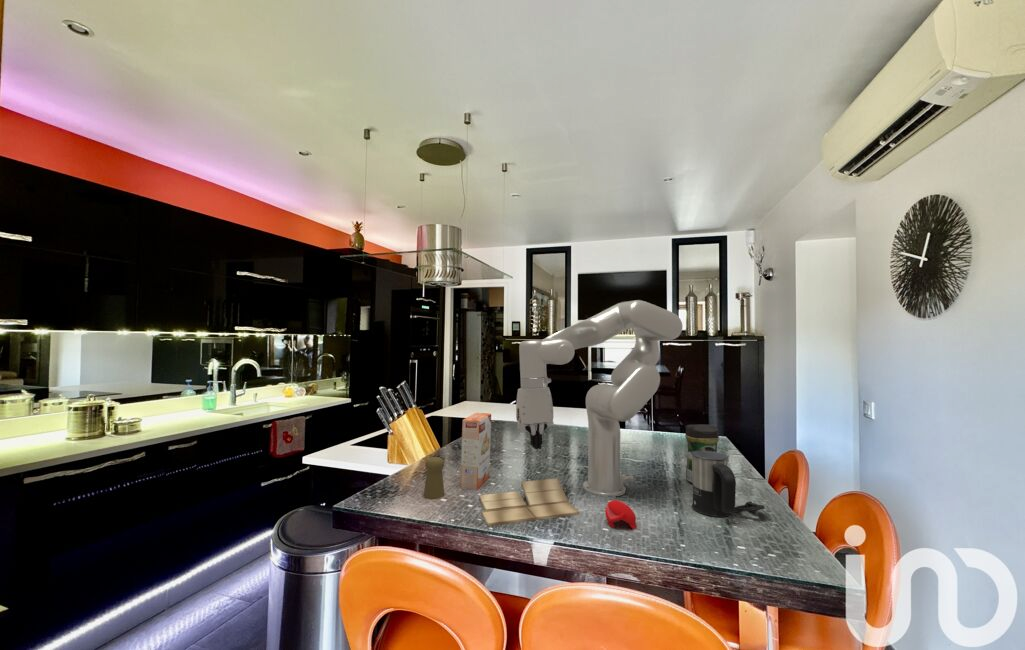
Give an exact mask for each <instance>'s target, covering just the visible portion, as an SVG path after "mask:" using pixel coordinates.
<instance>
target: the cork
mask: <svg viewBox="0 0 1025 650" xmlns="http://www.w3.org/2000/svg"><path fill="white" fill-rule="evenodd" d="M424 464H425V465H424V466H425V469H426V475H425V482H424V489H423V498H424V499H428V500H437V499H441V498H443V497H444V496H445V486H444V485H445V484H444V478H443V477H444V476H443V469H444V466H445V461H444V459H443V458H442V457H439V456H433V457H432V456H431V457H429V458H427V459H426V461H425V463H424Z"/></svg>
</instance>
